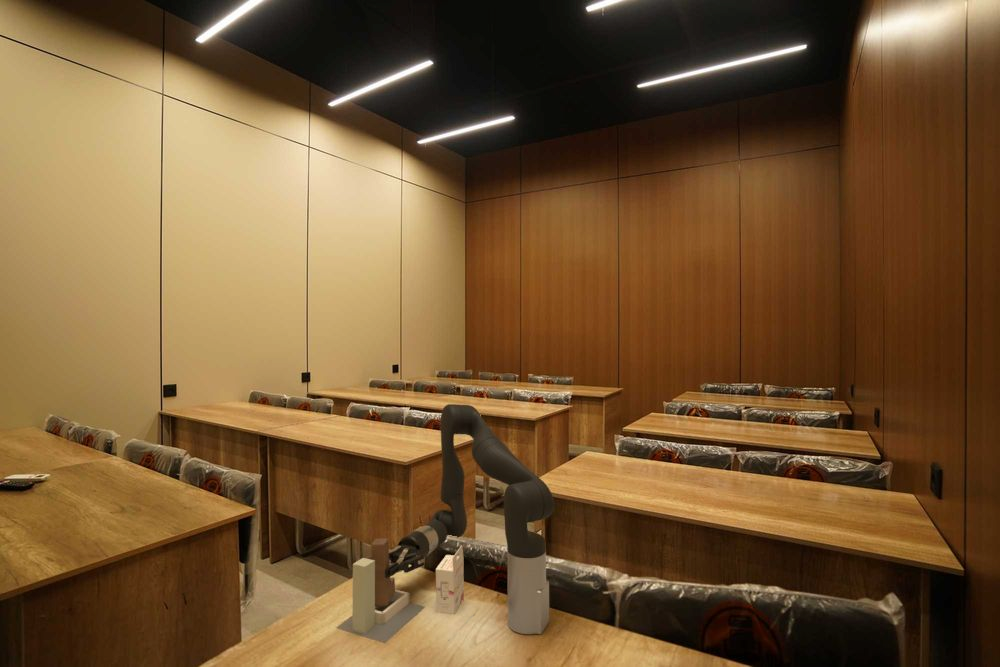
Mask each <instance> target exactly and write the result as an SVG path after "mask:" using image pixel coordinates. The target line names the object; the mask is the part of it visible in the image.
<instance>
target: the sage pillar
mask: <svg viewBox="0 0 1000 667" xmlns="http://www.w3.org/2000/svg"><path fill="white" fill-rule="evenodd" d="M352 616H353V631H356V632H359V633H363V634H365V633H367V632H368V631H369V630H370V629H372V628H373V627H374V626H375V560H372V559H370V558H366V557H362V558H360V559H359V560H357V561H356V562H354V563H352Z"/></svg>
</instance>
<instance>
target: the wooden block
mask: <svg viewBox="0 0 1000 667" xmlns="http://www.w3.org/2000/svg"><path fill="white" fill-rule="evenodd" d="M370 547H371V549H370V550H371V560H375V606H387V605H388V603H389V602H390V600H391V598H392V596H393V595H394V593H395V589H396V584H395V583H396V582H395V579H396V578H395V577H389V578H385V569H386V568H387V567H389V549H390V548H389V539H388V538H375V539H374V540H373V541H372V543H371V544H370Z"/></svg>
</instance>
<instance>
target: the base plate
mask: <svg viewBox="0 0 1000 667" xmlns="http://www.w3.org/2000/svg"><path fill="white" fill-rule="evenodd" d="M410 594H411V593H410V592H406V591H402V590H399V589H396V588H395V593H394V595H393V596H392V598H391V600H390V602H389V603H388V605H387V606H375V626H374V627H373V628H372V629H370V630H369V631H368V632H367V633H365V634H363V633H359V632H356V631H353V615H351V616H350V617H348V618H347V619H345V620H344V621H343V622H342V623H340V624H338V626H336V627H335V629H338V630H342V631H344V632H347V633H351V634H354V635H357V636H361V637H363V638H366V639H370V640H374V641H377V642H379V643H383V644H386V643H387V642H388V641H389V640H390V639H392V638H393V637H394V635H396V634H397V633H398V632H399V631H401V630H402V629H403V628H404V626H405V627H406V625H407V624H408V623H410V621H411V620H413V619H414V618H415V617H416V616H417V615H418V614H419V613H420V612H422V611H423V610H424V609H425V608H426V606H424V605H420V604H418V603H413V602H410V600H411V599H410V596H411V595H410Z"/></svg>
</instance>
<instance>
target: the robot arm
mask: <svg viewBox="0 0 1000 667" xmlns="http://www.w3.org/2000/svg"><path fill="white" fill-rule="evenodd" d="M455 435H466V436H469V437H471V438H472V440H473V442H472V445H471V455H472V459H473V461H474V462H475V463H476V464H477V466H478V467H479V468H480V470H481V471H482V472H483V473H484V474H486V475H487V476H488V477H490V478H492V479H494V480H496V481H498V482H501V483H503V484H506V485H507V487H506V488H505V490H504V494H503V514H504V515H503V516H504V532H505V533H504V534H505V540H506V546H507V549H506V550H507V554H506V555H507V557H506V558H507V625H508V627H509V628H510V629H511V630H512V631H514V632H515V633H517V634H522V635H534V634H535V635H536V634H537V635H542V634H543V632H544V630H545V629H546V627H547V626H548V624H549V623H550V581H549V580H547V544H546V539H545V537H544V536H543V535H542V534H540V533H538V532H535V531H530V530H529V529H528V523H533V522H537V521H542V520H544V519H546V518H549V517H550V516H551V515H552V514H553V513H554V510H555V499H554V496H553V494H552V492H551V489H550V488H549V487H548V485H547V484H546V483H545V482H544V481H543V480H542V479H541V478H540V477H539V476H537V475H536V474H535V473H534V472H532V470H530V469H529V468H528V467H527V466H525V465H524V464H523V463H522V461H520V459H519V458H518V457H516V455H514V454H513V452H512V451H511V450H510V449H509V448H508V446H507V445H506V444H505V443H504V442H503V441H502V440H501V439H500V438H499V437H498V436H497V435H496V433H494V431H493V430H492V429H491V427H490V426H489V425H488V424H487V423H486V421H485V420H484V418H483V417H482V415H481V414H480V412H479V411H478V410H477V408H476V407H474V406H472V405H470V404H457V403H454V404H453V403H452V404H451V403H450V404H445V406H444V407H443V409H442V411H441V415H440V443H441V444H440V445H441V447H440V448H441V461H442V462H441V464H442V469H441V471H442V473H441V483H440V484H441V487H440V496H439V497H440V501H441V502H442V503H443V504H445V505H447V506H449V508H450V510H449V509H439V510H436V512H434V514H433V516H432V517H431V518H430V520H429V521H428V522H427V523H426V524H424V525H422V526H420V527H417V528H416V529H413V531H411V532H410V533H408V534H406V535H404V536H403V537H402V538H401V539H400V540H399V541H398V543H397V545H396V546H393V547H391V548H389V567H387V568H386V569H385V578H389V577H390V578H392V577H393V576H394V575H395V574H397V573H401V572H402V571H403V573H405V574H407V573H410V572H412V571H414V570H416V569H419V568H421V567H423V566H424V565H425V558H427V557H428V556H429V555H431V554H432V553H433V551H434V550H435V549H436V548H439V547H440V546H441V545H442V544H443V543H444V542H445V541H446V540H447V536H448V535H452V536H457V537H456V538H461V537H462V536H463V535H464V534H465V533H466V530H467V526H468V518H467V513H466V507H465V500H464V492H465V480H466V479H465V478H466V477H465V472H464V467H463V465H462V463H461V461H460V459H459V456H458V454H457V451H456V448H455V442H454V440H455V439H454V437H455ZM452 536H451V537H452Z"/></svg>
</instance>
